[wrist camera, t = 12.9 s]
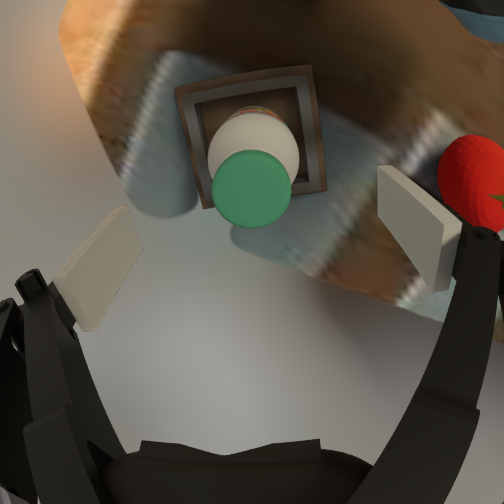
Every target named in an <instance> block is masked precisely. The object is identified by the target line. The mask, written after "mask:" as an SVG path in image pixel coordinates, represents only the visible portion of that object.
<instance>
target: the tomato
mask: <svg viewBox="0 0 504 504" xmlns="http://www.w3.org/2000/svg"><path fill="white" fill-rule="evenodd" d="M437 181H438V187H439V190H440V193H441V195H442V198H443V201H444V203H445V204H447V205H449V206H450V207H452V208H453V209H454V210H455V212H457V213H459V214H460V216H462V217H463V218H464V219H465V220H467V221H468V222H469V223H470V224H471V225H472V226H473V227H474V226H482V227H486V228H489V229H492V230H493V231H495V232H496V233H498V232H499V231H500V230H502V229H503V228H504V150H503V149H502V148H501V147H500V146H499V145H498V144H496V143H495V142H494V141H492V140H490V139H488V138H485V137H481V136H477V135H466V136H462V137H459V138H457V139H456V140H455V141H453V142H452V143H451V144H450V145H449V146H448V147H447V148H446V150H445V151H444V153H443V154H442V157H441V159H440V162H439V166H438V172H437Z"/></svg>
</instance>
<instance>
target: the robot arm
mask: <svg viewBox="0 0 504 504" xmlns="http://www.w3.org/2000/svg"><path fill="white" fill-rule="evenodd" d="M439 1H440V2H441V4H442V5H443V6H445V7H446V8H448V9H449V10H450V11H451V12H452V13H453V14H454V16H455V17H456V18H457V19H458V20H459V21H460V23H461V24H462V25H463V26H464V27H465V28H466V29H467V30H468V31H469V32H470V33H471V34H473V35H475V36H477V37H479V38H482V39H484V40H486V41H490V42H495V43H502V44H504V0H439ZM377 179H378V217H379V218H380V219H381V220H382V222H383V223H384V224H385V226H386V227H387V228H388V230H389V231H390V232H391V234H392V235H393V236H394V238H395V239H396V240H397V242H398V243H399V245H400V246H401V247H402V249H403V250H404V252H405V253H406V254H407V256H408V257H409V259H410V260H411V262H412V263H413V265H414V266H415V267H416V269H417V270H418V272H419V273H420V275H421V276H422V278H423V279H424V281H425V282H426V284H427V286H428V287H429V289H430V290H431V292H432V293H434V292H439V291H443V290H448V289H449V286H450V282H451V278H452V276H453V277H454V279H455V280H456V281H457V282H456V285H455V289H454V292H453V296H452V299H451V302H450V306H449V309H448V312H447V315H446V318H445V321H444V324H443V327H442V330H441V332H440V335H439V338H438V341H437V343H436V346H435V348H434V351H433V353H432V356H431V359H430V361H429V363H428V366H427V368H426V370H425V373H424V375H423V377H422V379H421V382H420V384H419V386H418V388H417V389H416V391H415V394H414V395H413V397H412V400H411V402H410V404H409V406H408V407H407V410H406V411H405V413H404V415H403V417H402V419H401V421H400V423H399V424H398V426H397V428H396V430H395V432H394V433H393V435H392V437H391V438H390V440H389V442H388V444H387V445H386V447H385V449H384V450H383V452H382V453H381V455H380V457H379V458H378V460H377V461H376V463H375V464H374V466H372V465H371V464H369V463H367V462H365V461H364V460H362V459H360V458H357V457H355V456H353V455H349V454H346V453H343V452H339V451H333V450H326V449H321V446H320V439H313V440H305V441H296V442H285V443H272V444H269V445H265V446H262V447H258V448H255V449H251V450H247V451H243V452H239V453H235V454H230V455H217V454H213V453H210V452H206V451H203V450H199V449H196V448H192V447H189V446H186V445H182V444H175V443H164V442H153V441H144V440H143V441H141V446H140V450H139V451H137V452H133V453H129V454H127V453H126V452H125V451H124V449H123V447H122V445H121V443H120V441H119V439H118V437H117V435H116V433H115V431H114V429H113V427H112V425H111V422H110V420H109V418H108V416H107V414H106V411H105V409H104V407H103V404H102V402H101V400H100V397H99V395H98V393H97V390H96V387H95V385H94V382H93V380H92V377H91V374H90V372H89V369H88V366H87V363H86V360H85V358H84V355H83V352H82V348H81V345H80V342H79V339H78V336H77V333H76V332H75V330H74V329H73V326H74V324H75V322H77V323H78V324H79V326H80V328H81V329H82V331H83V332H90V331H91V332H92V331H97V329H98V327H99V325H100V323H101V321H102V319H103V317H104V315H105V314H106V312H107V310H108V308H109V306H110V305H111V303H112V301H113V299H114V297H115V295H116V294H117V292H118V290H119V288H120V287H121V285H122V283H123V281H124V280H125V278H126V276H127V274H128V273H129V271H130V269H131V267H132V266H133V264H134V263H135V261H136V259H137V258H138V256H139V254H140V253H141V251H142V249H143V248H142V245H141V243H140V240H139V237H138V235H137V232H136V229H135V226H134V224H133V221H132V218H131V215H130V213H129V209H128V207H127V205H126V206H121V207H117V208H115V209H114V210H113V211H112V212H111V213H110V214H109V215H108V216H107V217H106V218H105V219H104V220H103V221H102V222H101V223H100V224H99V225H98V227H97V228H96V229H95V230H94V231H93V232H92V233H91V234H90V236H88V237H87V238H86V240H85V241H84V242H83V243H82V244H81V245H80V246H79V247H78V249H77V250H76V251H75V252H74V253H73V254H72V255H71V257H70V258H69V259H68V260H67V261H66V262H65V264H64V265H63V266H62V267H61V269H60V270H59V271H58V272H57V273H56V275H55V276H54V277H53V278H52V280H53V281H52V282H51V283H50V284H49V286H47V284H46V282H45V280H44V278H43V276H42V275H41V273H40V271H39V269H32V270H30V271H28V272H26V273H25V274H23V275H22V276H21V277H20V278H19V279H18V280H17V281H16V283H15V286H16V288H17V290H18V292H19V293H20V295H21V297H22V298H23V300H24V304H23V305H20V306H17V304H16V302H15V301H14V299H13V298H8V299H6V300H2V301H1V302H0V504H37V500H38V497H39V500H40V503H41V504H444V502H445V500H446V498H447V496H448V494H449V492H450V490H451V488H452V486H453V484H454V482H455V480H456V478H457V475H458V473H459V471H460V469H461V466H462V464H463V461H464V459H465V457H466V454H467V451H468V449H469V447H470V444H471V441H472V439H473V436H474V433H475V430H476V427H477V424H478V420H479V416H480V410H478V409H476V405H477V401H478V398H479V394H480V390H481V387H482V383H483V379H484V375H485V371H486V367H487V362H488V358H489V353H490V347H491V342H492V337H493V331H494V324H495V317H496V309H497V300H498V295H499V300H500V305H501V310H502V315H503V321H504V241H500V237H499V235H498V234H497V233H496V232H495V231H493V230H492V229H489V228H486V227H482V226H474V227H473V226H472V225H471V224H470V223H469V222H468V221H467V220H465V219H464V218H463V217H462V216H460V214H459V213H457V212H455V210H454V209H453V208H452V207H450V206H449V205H447V204H445V203H443V202H441V201H436V200H435V199H434V198H433V197H432V196H430V195H429V194H428V193H427V192H426V191H424V190H423V189H422V188H421V187H419V186H418V185H417V184H415V183H414V182H413V181H412V180H410V179H409V178H408V177H406V176H405V175H404V174H402V173H401V172H400V171H398V170H397V169H396V168H394V167H393V166H392V165H383V166H377ZM12 343H13V344H14V345H15V347H16V348H17V351H16V349H15V348H14V346H13V344H12ZM502 504H504V502H503V503H502Z"/></svg>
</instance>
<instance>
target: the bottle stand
mask: <svg viewBox="0 0 504 504" xmlns="http://www.w3.org/2000/svg"><path fill="white" fill-rule="evenodd" d="M174 89H175V93H176V98H177V102H178V107H179V111H180V116H181V120H182V125H183V129H184V133H185V137H186V142H187V146H188V150H189V154H190V158H191V163H192V167H193V171H194V175H195V179H196V183H197V187H198V191H199V195H200V199H201V203H202V206H203V209H208V208H214V207H215V204H214V202H213V199H212V191H211V190H212V182H213V180H212V178H211V175H210V172H209V168H208V151H209V146H210V143H211V141H212V139H213V137H214V135H215V134H216V132H217V130H218V129H219V128H220V127H221V125H222V124H223V123H224V122H225V121H226V120H227V119H228V118H229V117H230V116H231V115H232V114H233V113H235V112H236V111H238V110H240V109H242V108H245V107H250V106H259V107H264V108H267V109H269V110H271V111H273V112H275V113H276V114H277V115H278V116H279V117H280V118H281V119H282V120H283V121H284V123H285V124H286V125H287V127H288V128H289V130H290V131H291V133H292V135H293V136H294V139H295V141H296V143H297V147H298V151H299V167H298V172H297V175H296V177H295V179H294V181H293V183H292V185H291V196H292V195H300V194H307V193H315V192H323V191H327V182H326V171H325V161H324V151H323V142H322V134H321V125H320V118H319V110H318V103H317V96H316V89H315V83H314V77H313V70H312V64H311V65H299V66H289V67H280V68H272V69H265V70H258V71H252V72H246V73H240V74H234V75H229V76H224V77H219V78H214V79H210V80H205V81H201V82H196V83H192V84H188V85H184V86H180V87H177V88H174Z"/></svg>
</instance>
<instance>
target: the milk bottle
mask: <svg viewBox="0 0 504 504" xmlns="http://www.w3.org/2000/svg"><path fill="white" fill-rule="evenodd" d="M298 167H299V151H298V147H297V143H296V141H295V139H294V136H293V135H292V133H291V131H290V130H289V128H288V127H287V125H286V124H285V123H284V121H283V120H282V119H281V118H280V117H279V116H278V115H277V114H276V113H275V112H273V111H271V110H269V109H267V108H264V107H259V106H250V107H245V108H242V109H240V110H238V111H236V112H235V113H233V114H232V115H231V116H230V117H229V118H228V119H227V120H226V121H225V122H224V123H223V124H222V125H221V127H220V128H219V129H218V130H217V132H216V134H215V135H214V137H213V139H212V141H211V143H210V146H209V151H208V168H209V172H210V175H211V178H212V180H213V182H212V190H211V191H212V199H213V202H214V204H215V207H216V209H217V210H218V212H219V213H220V214H221V216H222V217H223V218H225V219H226V220H227V221H229V222H230V223H232V224H234V225H236V226H239V227H242V228H250V229H251V228H261V227H264V226H267V225H269V224H271V223H273V222H275V221H276V220H277V219H279V218H280V217H281V216H282V214H283V213H284V212H285V210H286V209H287V207H288V205H289V202H290V198H291V185H292V183H293V181H294V179H295V177H296V175H297V172H298Z"/></svg>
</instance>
